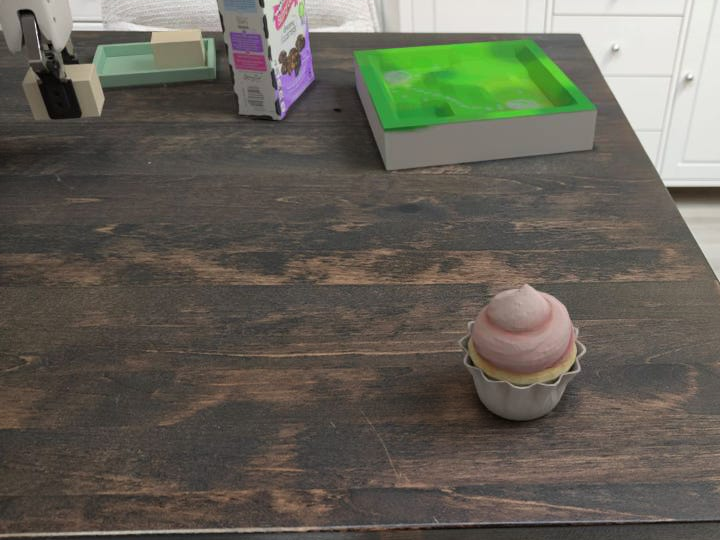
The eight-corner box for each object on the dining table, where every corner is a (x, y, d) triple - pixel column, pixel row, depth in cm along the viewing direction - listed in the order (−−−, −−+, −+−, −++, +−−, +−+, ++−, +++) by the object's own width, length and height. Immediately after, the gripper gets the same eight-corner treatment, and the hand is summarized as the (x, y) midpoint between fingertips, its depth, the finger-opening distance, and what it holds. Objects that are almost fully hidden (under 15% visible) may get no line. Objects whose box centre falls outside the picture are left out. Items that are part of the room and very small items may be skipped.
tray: (528, 74, 108) (531, 39, 104) (592, 149, 90) (597, 108, 86) (356, 88, 102) (353, 51, 99) (386, 170, 84) (384, 128, 81)
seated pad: (157, 72, 104) (150, 43, 101) (159, 60, 107) (152, 31, 105) (206, 69, 105) (200, 40, 103) (206, 57, 109) (200, 28, 106)
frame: (92, 92, 100) (87, 76, 98) (102, 59, 109) (97, 45, 107) (217, 82, 103) (213, 67, 102) (216, 52, 112) (213, 37, 111)
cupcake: (577, 356, 61) (591, 252, 54) (581, 440, 54) (598, 332, 47) (463, 350, 61) (463, 245, 54) (452, 433, 54) (451, 324, 47)
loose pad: (35, 120, 80) (21, 83, 77) (42, 102, 83) (29, 66, 81) (100, 116, 81) (89, 80, 79) (104, 98, 85) (94, 63, 82)
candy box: (281, 122, 94) (258, -20, 83) (237, 118, 94) (208, -24, 84) (317, 82, 104) (300, -49, 93) (276, 78, 105) (255, -52, 94)
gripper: (-16, -99, 75) (45, 80, 87) (-60, -59, 63) (18, 143, 75) (64, -99, 77) (113, 77, 89) (37, -61, 65) (98, 137, 77)
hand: (69, 105), depth 82 cm, fingers closed on loose pad, 5 cm apart
